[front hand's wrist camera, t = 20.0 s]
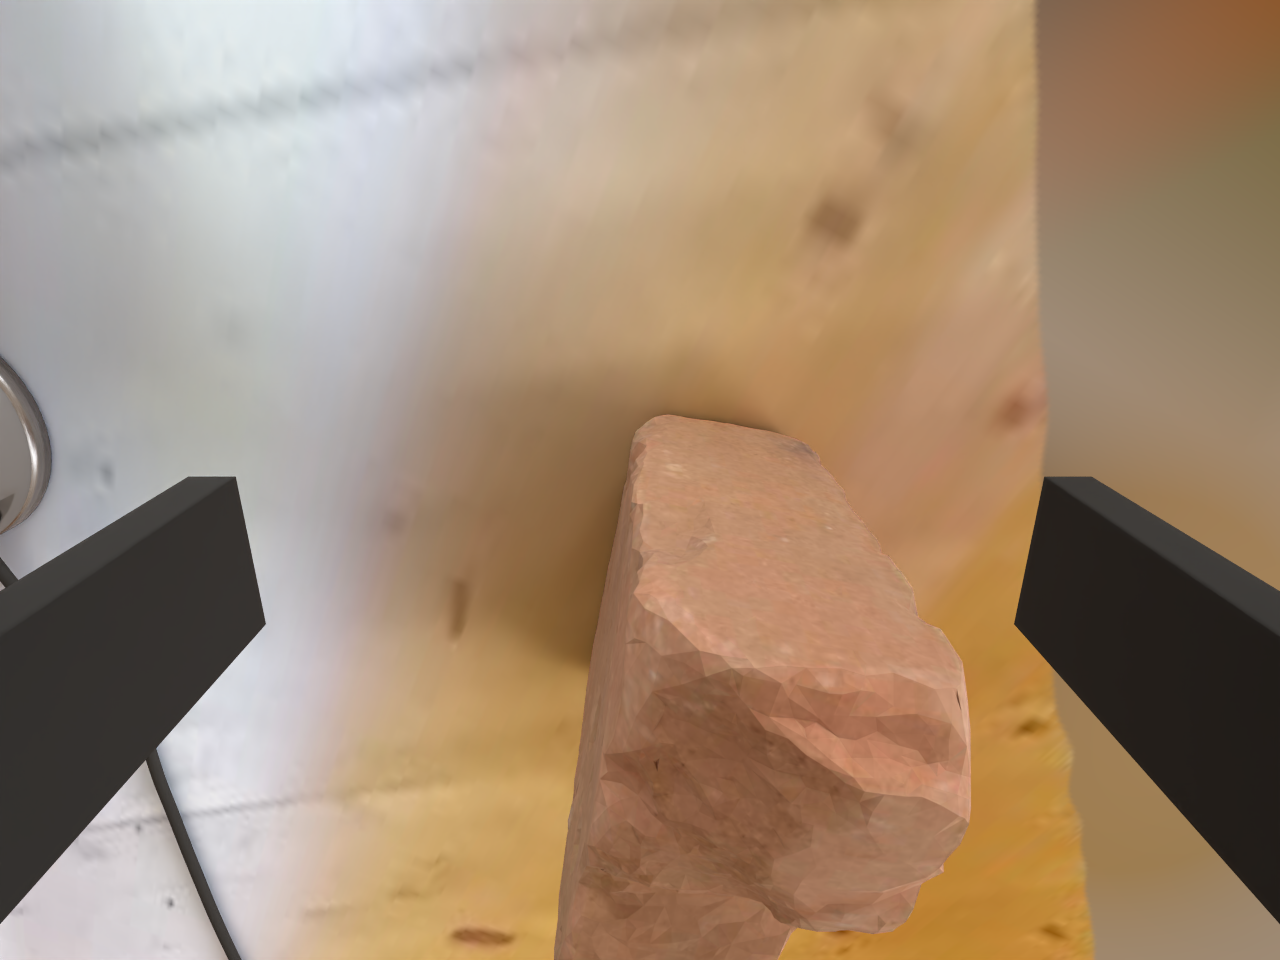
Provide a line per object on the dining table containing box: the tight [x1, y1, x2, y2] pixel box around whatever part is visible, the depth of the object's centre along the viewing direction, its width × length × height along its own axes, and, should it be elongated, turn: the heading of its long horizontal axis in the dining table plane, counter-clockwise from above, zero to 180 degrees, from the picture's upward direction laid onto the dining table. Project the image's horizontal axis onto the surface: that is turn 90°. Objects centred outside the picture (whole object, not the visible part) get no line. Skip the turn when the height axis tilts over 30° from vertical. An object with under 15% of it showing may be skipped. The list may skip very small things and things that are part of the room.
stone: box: [554, 414, 971, 960], centre depth 37 cm, size 22×11×28 cm, turn 170°
